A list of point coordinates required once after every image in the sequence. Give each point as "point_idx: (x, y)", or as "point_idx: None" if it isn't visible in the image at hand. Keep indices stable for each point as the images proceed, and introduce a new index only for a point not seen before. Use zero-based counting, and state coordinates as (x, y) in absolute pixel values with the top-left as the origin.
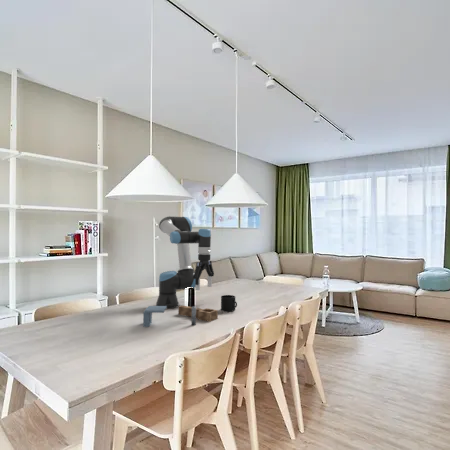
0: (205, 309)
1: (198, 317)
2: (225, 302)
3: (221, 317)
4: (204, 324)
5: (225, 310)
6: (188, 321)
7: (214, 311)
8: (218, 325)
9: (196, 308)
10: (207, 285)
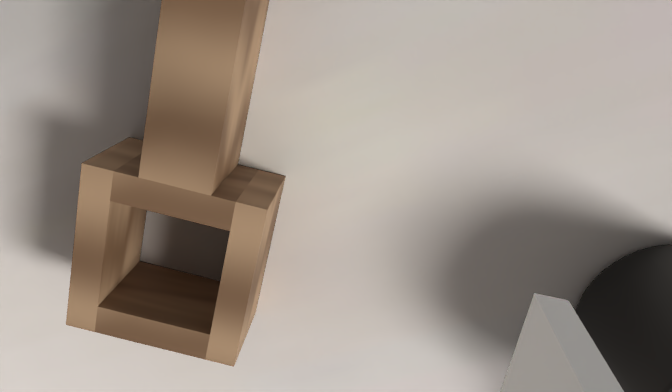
0: (199, 221)
1: (119, 145)
2: None
3: (314, 336)
4: (6, 257)
5: None
6: (12, 60)
7: (163, 348)
8: (45, 379)
9: (197, 83)
10: (541, 309)
